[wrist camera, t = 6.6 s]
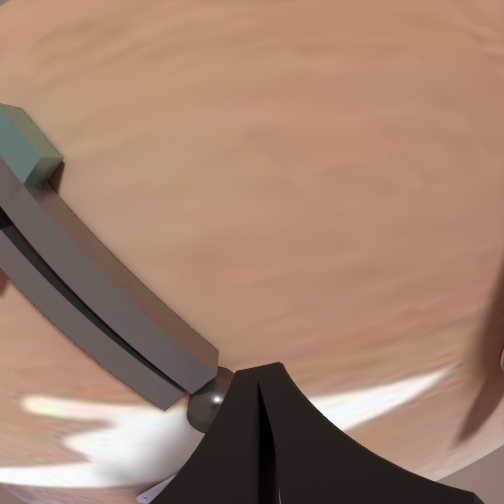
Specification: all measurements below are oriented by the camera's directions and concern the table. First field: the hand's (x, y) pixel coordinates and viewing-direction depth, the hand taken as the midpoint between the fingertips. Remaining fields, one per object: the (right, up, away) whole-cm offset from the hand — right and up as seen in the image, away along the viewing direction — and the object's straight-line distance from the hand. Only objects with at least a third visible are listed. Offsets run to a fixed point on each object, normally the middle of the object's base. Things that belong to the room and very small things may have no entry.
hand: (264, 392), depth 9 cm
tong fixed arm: (-11, +1, +9) cm, 14 cm away
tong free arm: (-9, +5, +8) cm, 13 cm away
